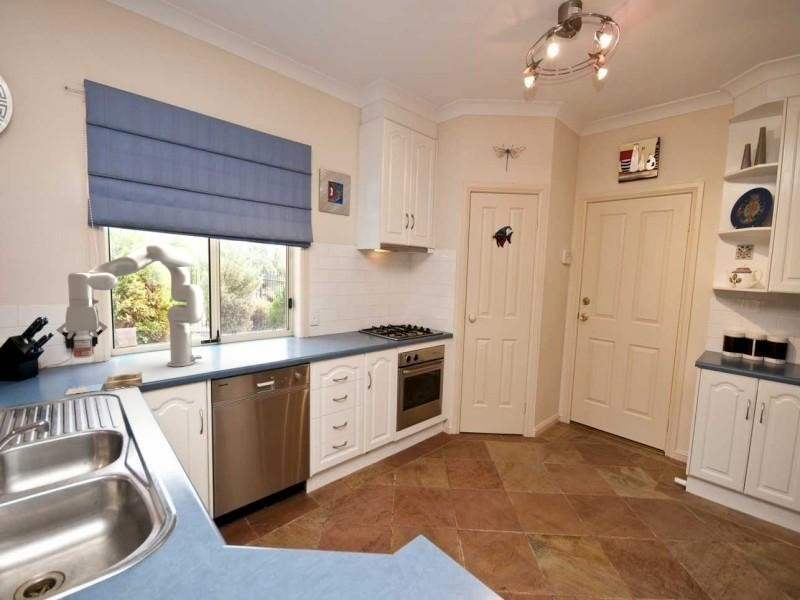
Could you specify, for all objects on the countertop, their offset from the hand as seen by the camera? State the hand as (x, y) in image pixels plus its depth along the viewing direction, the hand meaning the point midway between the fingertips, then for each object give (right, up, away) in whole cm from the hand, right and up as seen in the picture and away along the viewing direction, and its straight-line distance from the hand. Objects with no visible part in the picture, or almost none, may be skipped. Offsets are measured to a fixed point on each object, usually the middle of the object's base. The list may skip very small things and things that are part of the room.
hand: (83, 346), depth 147 cm
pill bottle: (0, -4, 0) cm, 4 cm away
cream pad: (0, -18, +1) cm, 18 cm away
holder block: (+10, -17, +9) cm, 22 cm away
